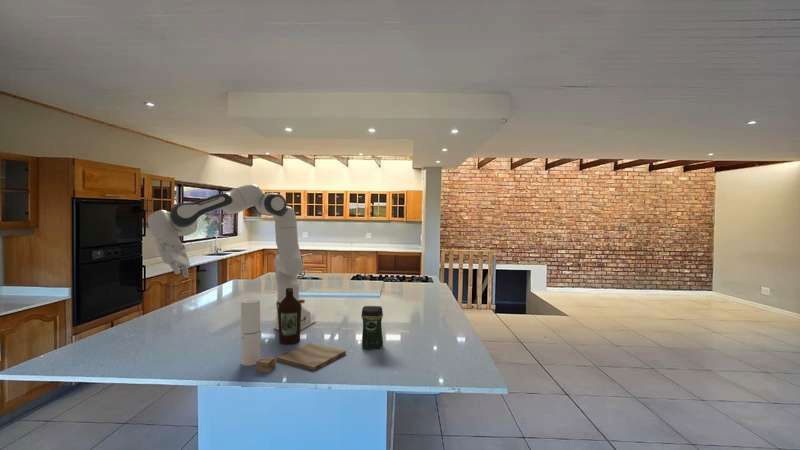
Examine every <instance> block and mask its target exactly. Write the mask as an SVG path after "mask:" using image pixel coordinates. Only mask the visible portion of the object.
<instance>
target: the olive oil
mask: <svg viewBox="0 0 800 450" xmlns="http://www.w3.org/2000/svg"><path fill="white" fill-rule="evenodd" d="M301 305H302V304H301ZM301 305H300V303H299V302H298V301H297V300H296V299H295V298H294V296H293V288H286V297H285V298H284V299H283V300H282V301H281V303H280V304H279V306H278V323H279V330H278V340H279V341H278V342H279V343H280V345H294V344H297V343H299V342H300V341H301V330H300V324H301Z"/></svg>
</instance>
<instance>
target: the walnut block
mask: <svg viewBox="0 0 800 450" xmlns="http://www.w3.org/2000/svg"><path fill="white" fill-rule="evenodd" d="M276 362H277V361H276V357H271V356H263V357H260V360H258V361H256V364H255V366H256V372H259V373H267V374H268V373H270V372H271V371H273V370H274V369H276V367H277V366H276V365H277V364H276Z"/></svg>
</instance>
